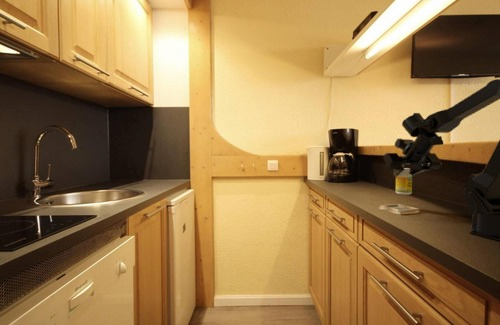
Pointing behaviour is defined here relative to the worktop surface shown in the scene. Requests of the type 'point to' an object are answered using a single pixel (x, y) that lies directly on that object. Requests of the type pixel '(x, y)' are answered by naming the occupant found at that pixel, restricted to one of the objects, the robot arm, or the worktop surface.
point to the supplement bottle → (404, 182)
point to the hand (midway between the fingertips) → (401, 175)
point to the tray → (399, 209)
